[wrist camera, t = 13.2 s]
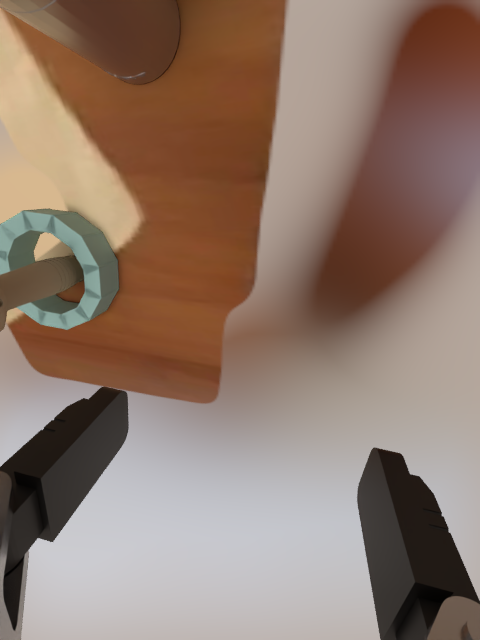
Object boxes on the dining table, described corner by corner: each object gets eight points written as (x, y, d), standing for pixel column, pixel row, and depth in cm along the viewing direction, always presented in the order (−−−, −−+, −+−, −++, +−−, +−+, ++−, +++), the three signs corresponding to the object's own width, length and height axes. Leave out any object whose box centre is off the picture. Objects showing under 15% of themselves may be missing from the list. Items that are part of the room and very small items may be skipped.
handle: (68, 290, 43) (-42, 336, 29) (57, 242, 40) (-70, 268, 27) (100, 291, 42) (2, 339, 28) (90, 242, 40) (-22, 269, 26)
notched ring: (11, 203, 40) (-18, 204, 36) (116, 217, 38) (95, 220, 34) (29, 307, 45) (5, 318, 42) (121, 324, 43) (104, 337, 40)
